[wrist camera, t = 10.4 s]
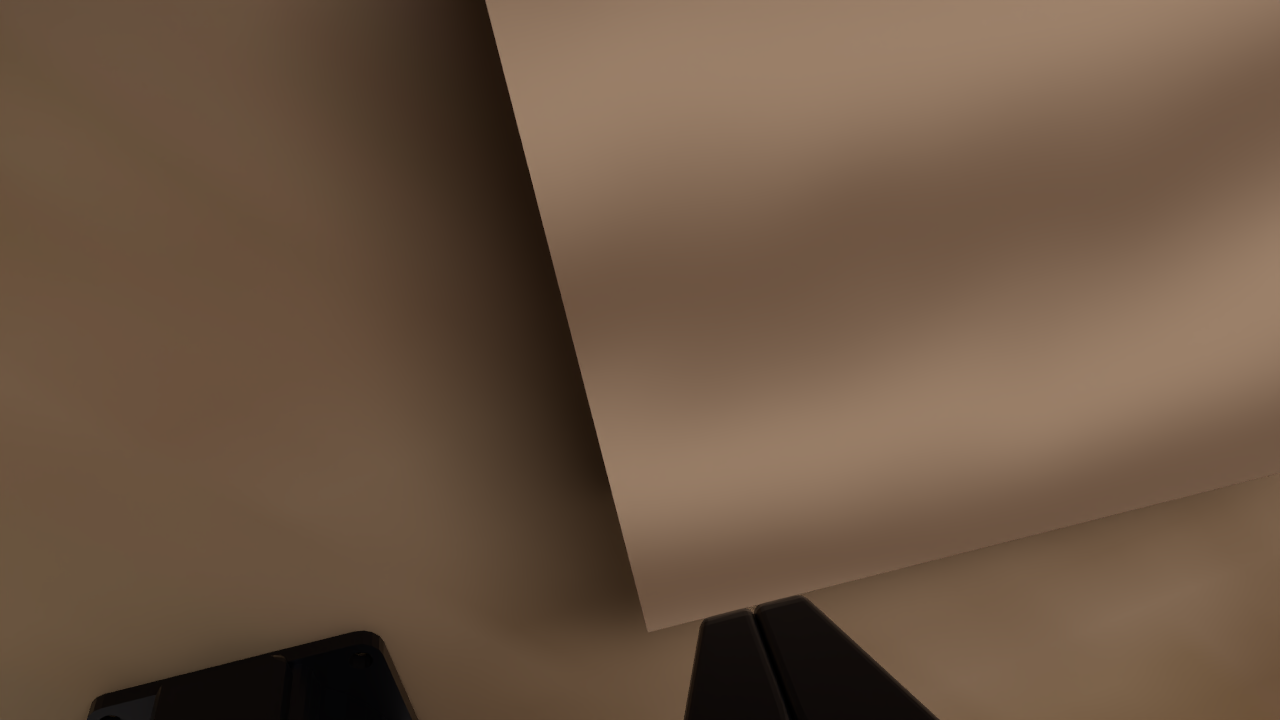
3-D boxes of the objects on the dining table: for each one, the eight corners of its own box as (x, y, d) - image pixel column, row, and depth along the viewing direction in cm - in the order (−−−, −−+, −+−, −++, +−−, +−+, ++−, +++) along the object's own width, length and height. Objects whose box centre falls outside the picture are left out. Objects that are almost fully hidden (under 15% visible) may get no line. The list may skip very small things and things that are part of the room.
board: (1334, 318, 26) (1469, 425, 23) (617, 496, 25) (648, 632, 22) (1465, -449, 18) (1702, -459, 15) (435, -215, 18) (441, -171, 14)
